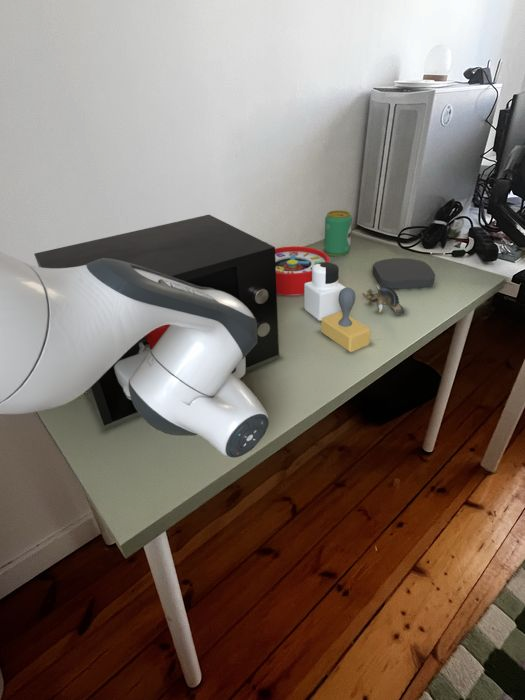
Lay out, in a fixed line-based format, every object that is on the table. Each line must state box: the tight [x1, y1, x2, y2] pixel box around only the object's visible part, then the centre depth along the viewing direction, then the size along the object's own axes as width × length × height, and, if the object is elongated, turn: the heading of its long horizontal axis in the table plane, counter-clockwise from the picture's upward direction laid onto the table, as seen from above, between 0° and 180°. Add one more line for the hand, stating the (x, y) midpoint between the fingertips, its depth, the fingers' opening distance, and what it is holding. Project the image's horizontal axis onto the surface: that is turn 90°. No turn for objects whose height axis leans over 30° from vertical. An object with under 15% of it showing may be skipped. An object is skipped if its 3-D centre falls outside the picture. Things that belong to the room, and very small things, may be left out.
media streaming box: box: [372, 257, 436, 289], centre depth 118 cm, size 15×15×3 cm
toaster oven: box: [33, 214, 280, 431], centre depth 84 cm, size 36×27×24 cm
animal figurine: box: [362, 284, 406, 316], centre depth 103 cm, size 8×7×9 cm
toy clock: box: [275, 245, 330, 296], centre depth 120 cm, size 20×6×20 cm
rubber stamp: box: [320, 287, 372, 353], centre depth 91 cm, size 10×6×12 cm, turn 31°
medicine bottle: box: [303, 261, 347, 322], centre depth 102 cm, size 7×7×12 cm
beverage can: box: [323, 209, 353, 257], centre depth 134 cm, size 8×8×12 cm
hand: (162, 338), depth 76 cm, fingers closed on sauce bottle, 6 cm apart
